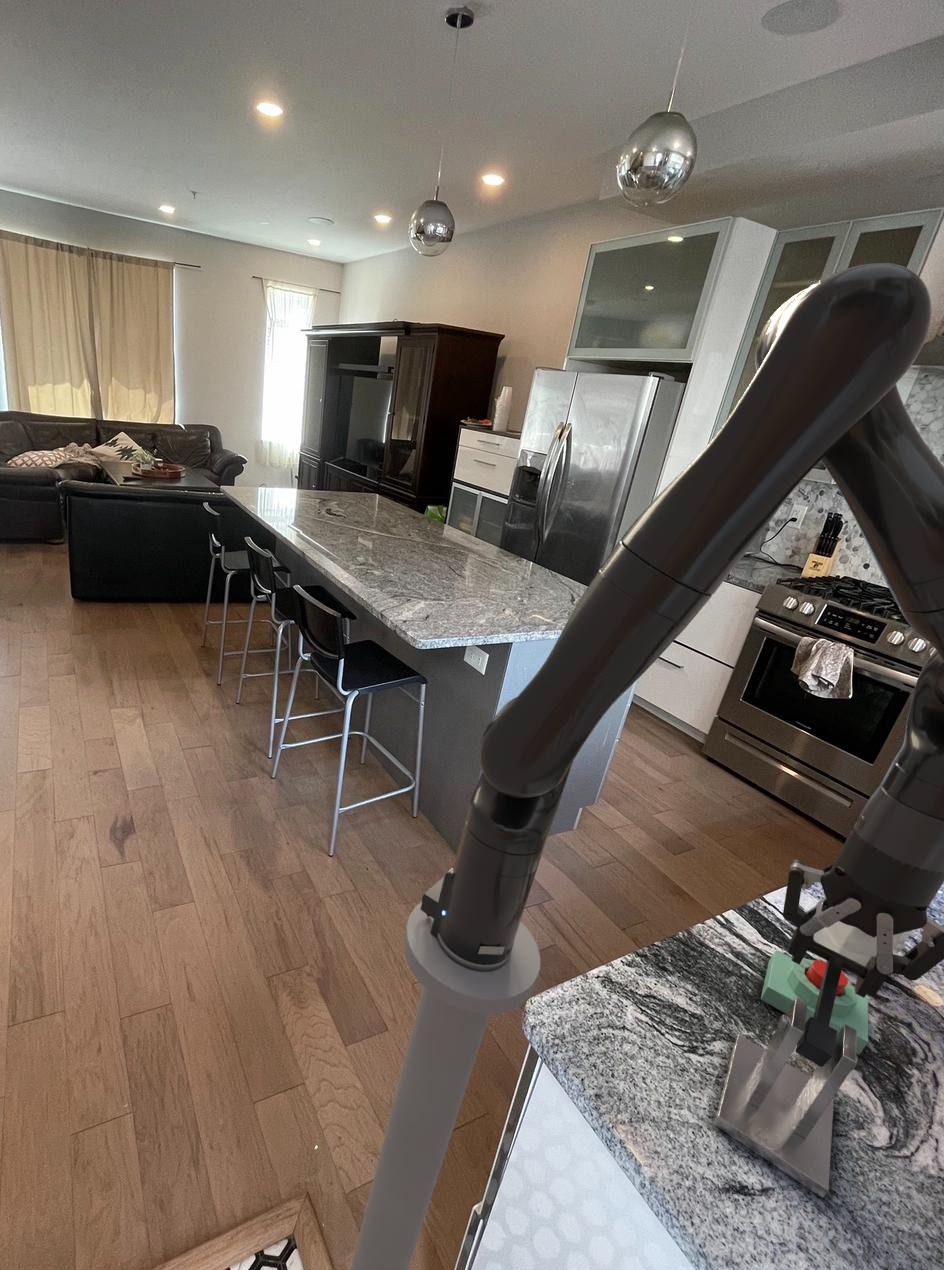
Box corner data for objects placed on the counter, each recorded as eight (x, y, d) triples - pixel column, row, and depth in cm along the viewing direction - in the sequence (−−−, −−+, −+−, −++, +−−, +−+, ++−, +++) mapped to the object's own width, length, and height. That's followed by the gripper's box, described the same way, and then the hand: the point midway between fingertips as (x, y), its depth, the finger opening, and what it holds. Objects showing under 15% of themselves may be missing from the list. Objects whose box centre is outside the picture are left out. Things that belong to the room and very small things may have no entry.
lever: (804, 946, 67) (813, 933, 65) (860, 974, 64) (870, 962, 63) (778, 1042, 60) (787, 1031, 58) (840, 1078, 57) (850, 1067, 56)
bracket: (734, 1041, 69) (777, 962, 65) (829, 1098, 64) (882, 1017, 60) (713, 1124, 60) (762, 1039, 55) (822, 1198, 55) (885, 1111, 51)
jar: (881, 950, 87) (923, 881, 82) (893, 990, 80) (940, 918, 76) (807, 919, 90) (844, 852, 86) (813, 955, 84) (853, 885, 79)
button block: (760, 999, 75) (773, 975, 74) (768, 962, 81) (780, 938, 80) (859, 1055, 70) (875, 1030, 68) (860, 1010, 76) (875, 986, 75)
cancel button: (805, 983, 74) (811, 972, 73) (807, 965, 77) (813, 954, 76) (840, 1002, 72) (847, 991, 71) (841, 983, 75) (848, 972, 74)
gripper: (997, 862, 58) (909, 994, 64) (817, 792, 65) (755, 917, 72) (1011, 902, 52) (913, 1043, 59) (812, 821, 60) (745, 954, 66)
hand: (826, 973), depth 65 cm, fingers closed on lever, 5 cm apart
